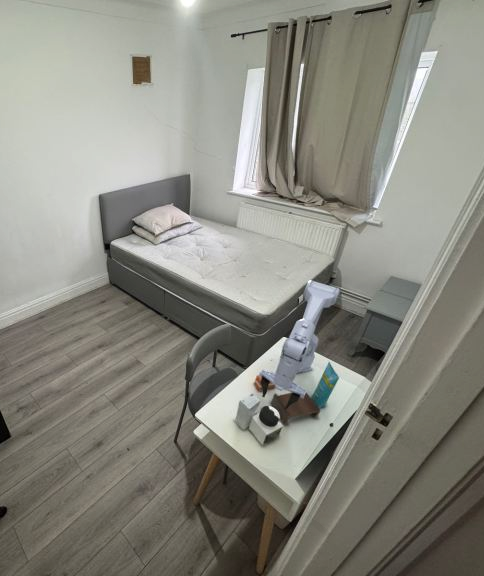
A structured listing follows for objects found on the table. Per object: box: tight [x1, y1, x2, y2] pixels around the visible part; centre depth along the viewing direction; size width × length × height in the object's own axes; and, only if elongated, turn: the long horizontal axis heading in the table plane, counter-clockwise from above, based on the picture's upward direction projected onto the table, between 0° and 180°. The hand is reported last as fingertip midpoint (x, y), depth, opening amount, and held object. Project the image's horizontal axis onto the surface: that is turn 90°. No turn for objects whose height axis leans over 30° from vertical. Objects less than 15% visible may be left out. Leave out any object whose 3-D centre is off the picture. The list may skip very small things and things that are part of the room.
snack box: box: [254, 374, 276, 392], centre depth 120 cm, size 7×4×5 cm, turn 102°
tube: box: [311, 361, 340, 409], centre depth 109 cm, size 7×5×19 cm, turn 2°
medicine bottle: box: [248, 405, 284, 446], centre depth 102 cm, size 7×7×12 cm
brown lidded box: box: [270, 391, 321, 426], centre depth 110 cm, size 13×9×6 cm
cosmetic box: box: [234, 392, 261, 431], centre depth 105 cm, size 6×4×12 cm
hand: (275, 401), depth 103 cm, fingers open, 7 cm apart
